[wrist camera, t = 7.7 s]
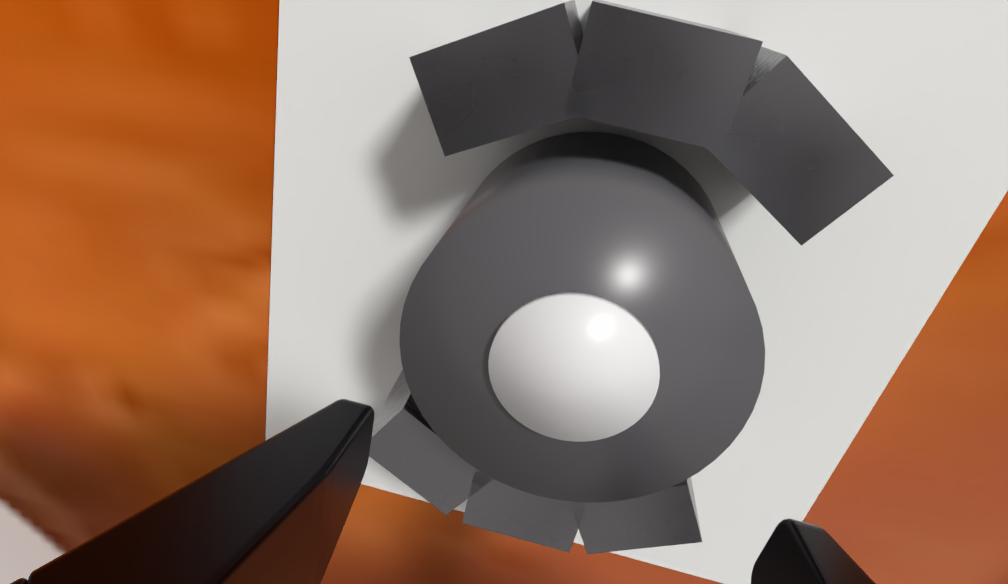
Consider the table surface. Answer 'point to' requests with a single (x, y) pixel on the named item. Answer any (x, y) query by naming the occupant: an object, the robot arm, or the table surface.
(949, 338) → the table surface
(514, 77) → the curved wall segments
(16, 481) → the table surface
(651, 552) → the mat
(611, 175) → the grey cylinder white dome
